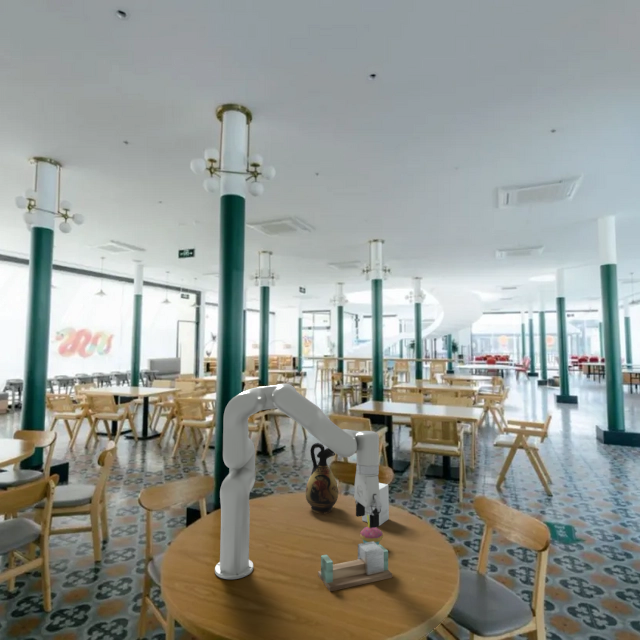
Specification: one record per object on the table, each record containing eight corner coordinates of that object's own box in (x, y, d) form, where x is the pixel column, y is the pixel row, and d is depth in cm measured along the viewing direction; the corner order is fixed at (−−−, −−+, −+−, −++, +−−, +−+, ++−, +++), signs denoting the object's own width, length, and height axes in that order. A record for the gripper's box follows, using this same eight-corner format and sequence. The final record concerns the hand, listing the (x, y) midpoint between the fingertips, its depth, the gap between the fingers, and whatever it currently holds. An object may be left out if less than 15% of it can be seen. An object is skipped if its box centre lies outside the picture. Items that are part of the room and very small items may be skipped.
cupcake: (355, 547, 154) (355, 514, 155) (369, 540, 161) (368, 508, 162) (374, 555, 149) (374, 520, 150) (387, 547, 155) (387, 514, 156)
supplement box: (371, 514, 186) (371, 480, 188) (389, 519, 181) (389, 484, 182) (361, 521, 179) (361, 485, 180) (379, 526, 174) (379, 489, 175)
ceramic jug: (343, 506, 196) (343, 442, 198) (330, 518, 181) (331, 449, 184) (310, 501, 202) (311, 439, 205) (296, 512, 188) (297, 445, 191)
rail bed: (318, 575, 135) (318, 552, 135) (376, 563, 143) (376, 541, 144) (330, 591, 126) (330, 566, 126) (392, 577, 134) (392, 554, 134)
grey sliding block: (357, 564, 139) (357, 544, 139) (373, 561, 141) (373, 541, 141) (367, 575, 132) (367, 553, 133) (383, 571, 134) (383, 550, 135)
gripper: (346, 463, 146) (345, 513, 144) (370, 477, 130) (369, 533, 128) (365, 461, 149) (364, 510, 147) (390, 474, 133) (390, 530, 131)
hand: (367, 521), depth 138 cm, fingers open, 9 cm apart
